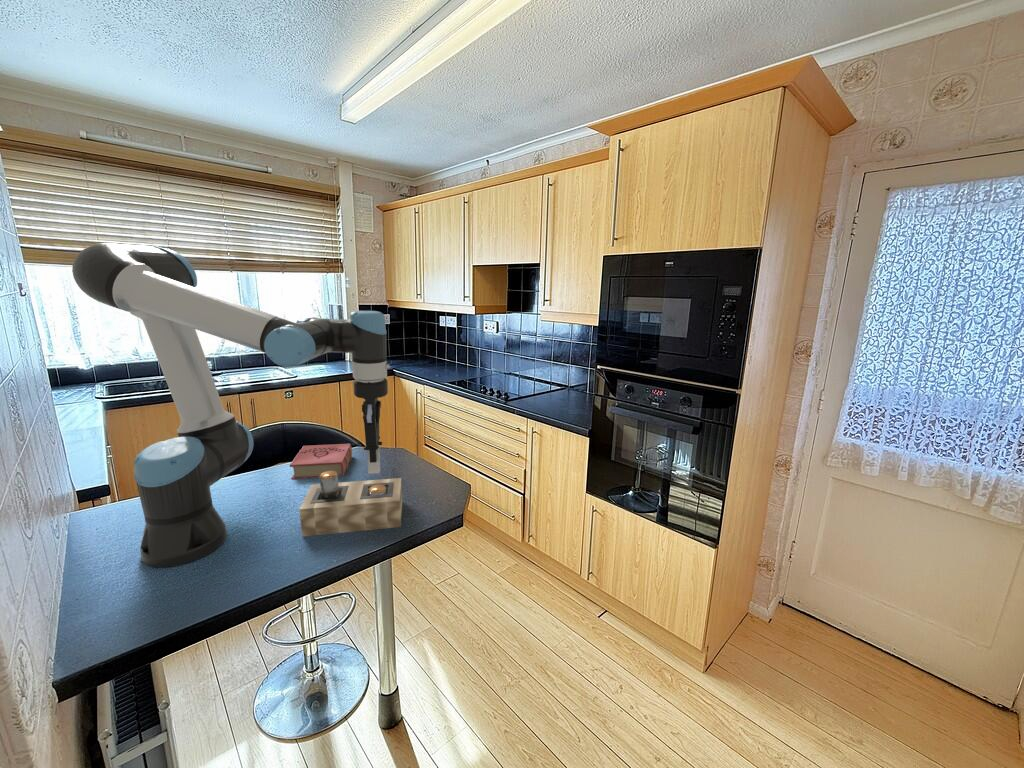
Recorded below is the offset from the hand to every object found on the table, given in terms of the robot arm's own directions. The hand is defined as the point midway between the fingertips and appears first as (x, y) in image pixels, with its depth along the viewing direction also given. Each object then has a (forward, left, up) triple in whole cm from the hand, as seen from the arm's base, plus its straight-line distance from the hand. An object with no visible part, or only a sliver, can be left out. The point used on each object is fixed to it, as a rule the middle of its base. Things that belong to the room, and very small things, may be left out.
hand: (374, 472), depth 105 cm
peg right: (+1, 0, -11) cm, 11 cm away
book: (-18, +32, -13) cm, 39 cm away
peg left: (-10, 0, -6) cm, 12 cm away
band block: (-5, 0, -12) cm, 13 cm away
